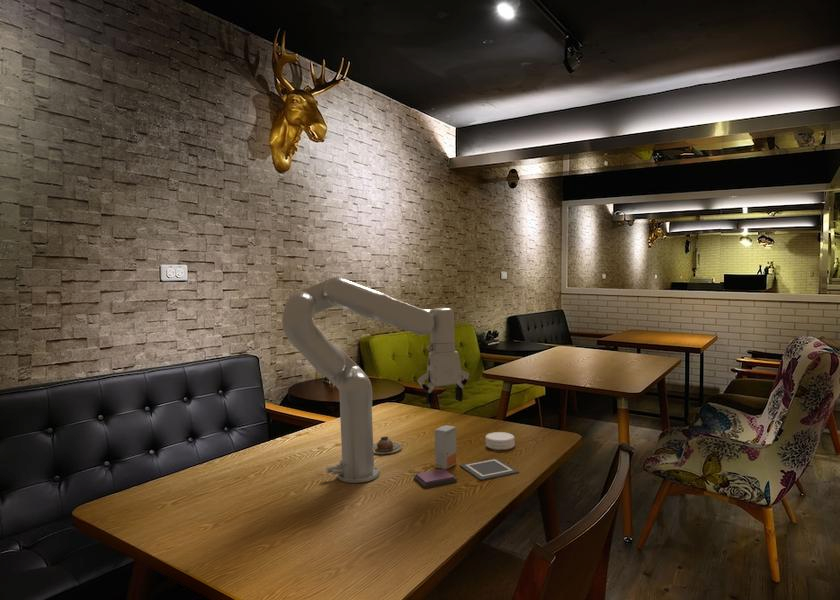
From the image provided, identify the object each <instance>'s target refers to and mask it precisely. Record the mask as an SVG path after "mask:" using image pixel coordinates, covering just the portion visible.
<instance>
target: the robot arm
mask: <svg viewBox="0 0 840 600" xmlns="http://www.w3.org/2000/svg"><path fill="white" fill-rule="evenodd" d="M333 307H337V308H339V309H342V310H344V311H345V310H346V311H348V312H351V313H354V314H357V315H359V316H362V317H365V318H368V319H371V320H373V321H376V322H380V323H383V324H387V325H390V326H392V327H396V328H397V329H401V330H404V331H407V332H409V333H412V334H415V335H418V336H426V335H428V334H429V335H430V339H429V340H430V341H429V342H430V343H429V345H426V349H427V351H430V352H429V353H428V356H427V357H428V359H427V369H426V373H424V374H422V375H421V376H420V377H418V378H417V382H418V383H419V386H420V387H421V388H422V389H423V390H424V391H425V392H426V394H425V395H426V403H427V404H428V405H430V406H434V405H435V401H434V395H435V394H434V392H433V390H434V389H435V387H444V386H452V385H455V387H454V391H455V393H454V395H455V396H454V397H455V400H456V401H459V402H463V396H464V395H463V392H464V391H463V389H464V388H465V385H466V384H467V383H468V380H469V377H470V375H471V374H470V373H469V372H467V371H465V370H463V369H462V367H461V360H460V356H459V355H460V354H459V352H458V351H457V350H456V339H455V338H456V337H455V336H456V335H455V312H454V310H453V309H452V308H451V307H438V308H437V307H435V308H433V309H432V308H431V309H430V308H429V309H428V308H427V309H426V308H419V307H417V306H415V305H412V304H409V303H407V302H403V301H401V300H399V299H396V298H394V297H392V296H389V295H387V294H386V293H383V292H381V291H378V290H375V289H372V288H370V287H367V286H364V285H362V284H358V283H356V282H354V281H351V280H348V279H346V278H343V277H339V276H333V277H330V278H328V279H325V280H324V281H322V282H319V283H316V284H314V285H312V286H309V287H307V288H304V289H302V290H299V291H296V292H294V293H292V294H291V295H290V296H289V297H288V298H287V300H286V302H285V305H284V309H283V312H282V317H281V319H282V320H281V324H282V329H283V332H284V335H285V337H286V338H287V340H288V341H289V342H290V343H291V345H292V346H293V347H294V348H295V349H296V350H297V351H298V352H299V353H300V354H301V356H302V357H303V358H304V359H306V361H307V362H309V364H310V365H311V366H312V367H313V369H315V370H316V372H317V373H318V374H320V375H321V376H322V377H324V378H326V379H327V380H328V381H329V382H331V384H332V385H334V386H335V387H336V389H338V392H339V393H338V394H339V413H340V414H339V415H340V416H339V419H340V435H341V436H340V439H341V441H340V444H341V459H340V460H339V463H336V465H330V466H329V465H328V466H326V473H327V474H331V473H332V475H337V479H338V480H340V482H344V483H349V484H359V483H366V482H371V481H373V480H375V479H377V478H378V477H379V475H380V473H381V472H380V468H378V467H377V466H376V465H375V454H374V452H375V451H374V449H373V444H374V432H373V431H374V430H373V426H374V425H373V387H372V382H371V379H370V378H369V376H368V375H367V374H366V372H365V371H364V370H363V369H362V368H361V367H360V366H359V365H358V364H357V363H356V362H355V361H354V360H353V359H352V358H351V357H350V356H349V355H348V354H347V353H346V352H345V351H344V350H343V349H342V347H340V346H339V345H338V344H336V343H333V342H331V341H330V340H329V339H328V338H327V337H326V336H325V335H324V333H323V332H322V331H321V330H320V329H319V328H318V327H317V326H316V325H315V324H314V320H313V317H314V315H317V314H319V313H322V312H324V311H326V310H328V309H331V308H333ZM426 380H427V385H426V383H425V381H426Z"/></svg>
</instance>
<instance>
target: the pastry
mask: <svg viewBox="0 0 840 600" xmlns="http://www.w3.org/2000/svg"><path fill="white" fill-rule="evenodd" d="M402 448H403V446H402V445H401V444H400V443H398V442H393V441H392V440H391V439H390V437H389V436H382V437H380V439H379V440H378V442H377V443H373V450H374V449H376V450H377V451H378V452H377V451H374V455H379V456H381V455H387V454H393V453H396V452H399V451H400V450H401V449H402ZM394 449H395V450H394ZM393 450H394V451H393Z"/></svg>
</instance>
